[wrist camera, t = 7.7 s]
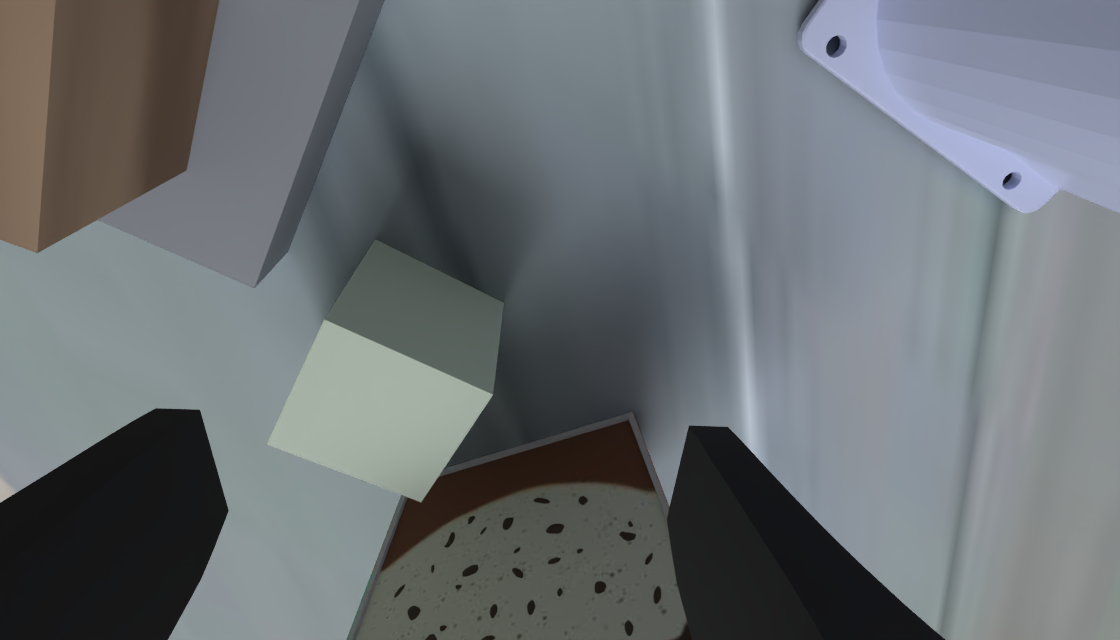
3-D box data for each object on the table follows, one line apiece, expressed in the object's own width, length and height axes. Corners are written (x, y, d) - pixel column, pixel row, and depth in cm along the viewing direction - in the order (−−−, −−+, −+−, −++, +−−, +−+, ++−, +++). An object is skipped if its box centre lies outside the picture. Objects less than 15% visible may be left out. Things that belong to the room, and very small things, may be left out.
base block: (404, -41, 15) (375, -44, 12) (294, 244, 19) (254, 288, 16) (7, -292, 13) (-133, -360, 10) (-26, 96, 16) (-134, 119, 14)
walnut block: (222, -17, 13) (56, -13, 8) (186, 170, 15) (37, 253, 10) (-17, -138, 11) (-355, -206, 7) (-21, 83, 13) (-286, 135, 9)
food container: (441, 580, 27) (393, 871, 18) (373, 489, 24) (276, 785, 15) (709, 508, 25) (798, 796, 16) (671, 399, 22) (756, 680, 13)
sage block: (504, 302, 20) (492, 394, 15) (445, 396, 21) (421, 502, 17) (375, 238, 18) (324, 319, 14) (325, 344, 20) (266, 444, 16)
